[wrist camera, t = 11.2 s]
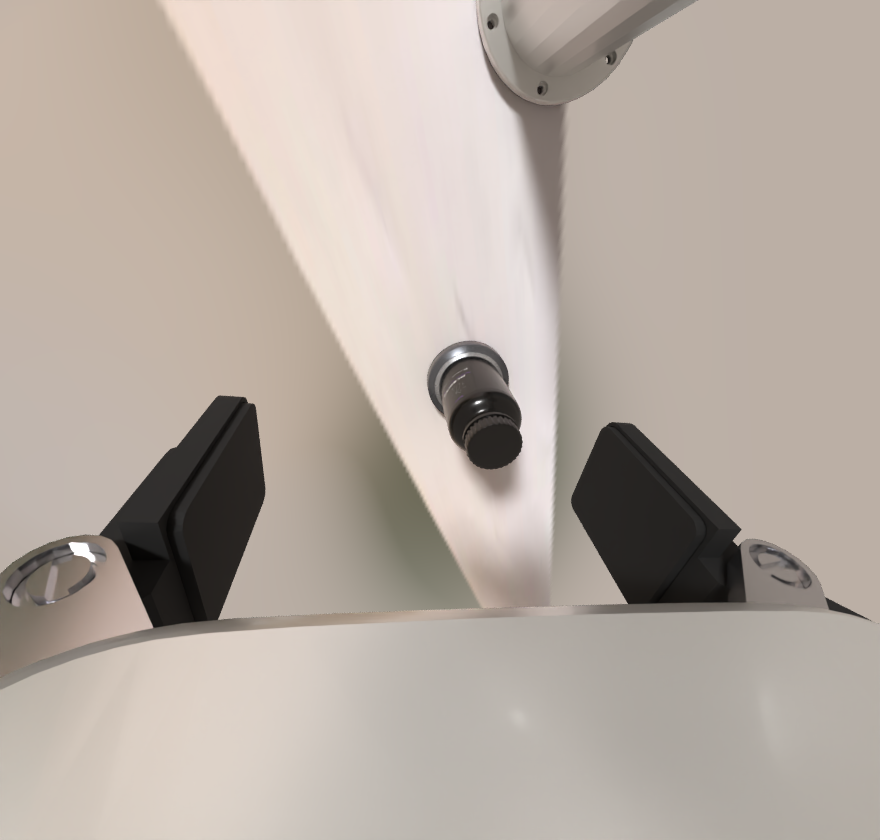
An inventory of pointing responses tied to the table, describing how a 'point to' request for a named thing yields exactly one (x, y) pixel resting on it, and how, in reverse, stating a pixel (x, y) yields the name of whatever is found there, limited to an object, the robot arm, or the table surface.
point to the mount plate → (454, 354)
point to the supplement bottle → (481, 412)
